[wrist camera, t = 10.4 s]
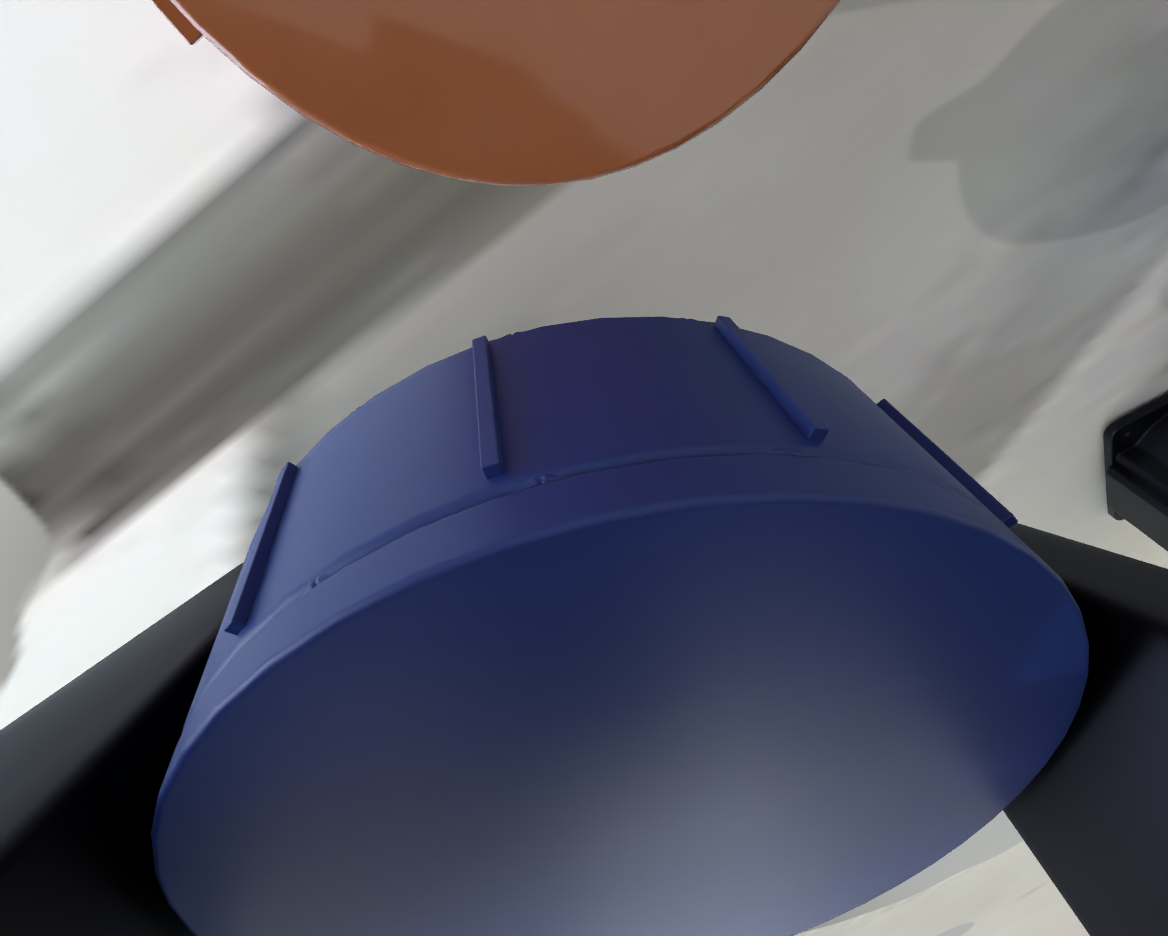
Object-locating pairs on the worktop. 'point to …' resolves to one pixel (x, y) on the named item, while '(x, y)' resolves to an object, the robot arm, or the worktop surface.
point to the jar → (508, 74)
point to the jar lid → (612, 655)
